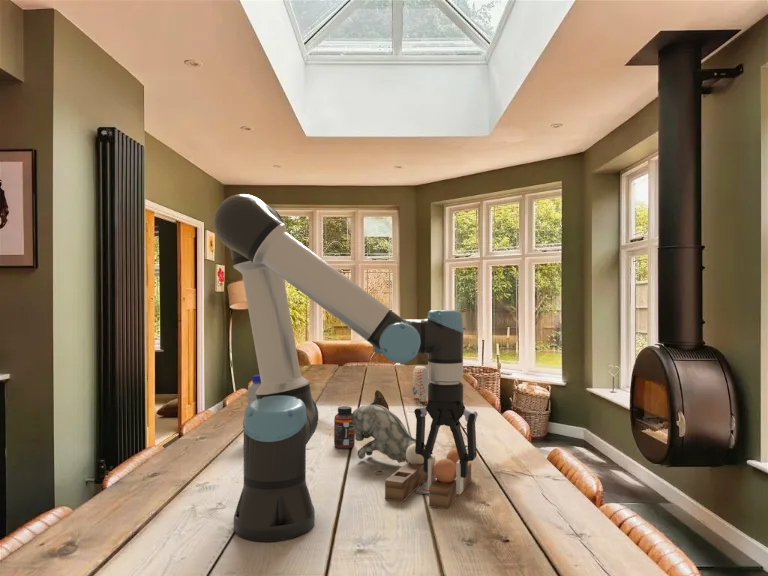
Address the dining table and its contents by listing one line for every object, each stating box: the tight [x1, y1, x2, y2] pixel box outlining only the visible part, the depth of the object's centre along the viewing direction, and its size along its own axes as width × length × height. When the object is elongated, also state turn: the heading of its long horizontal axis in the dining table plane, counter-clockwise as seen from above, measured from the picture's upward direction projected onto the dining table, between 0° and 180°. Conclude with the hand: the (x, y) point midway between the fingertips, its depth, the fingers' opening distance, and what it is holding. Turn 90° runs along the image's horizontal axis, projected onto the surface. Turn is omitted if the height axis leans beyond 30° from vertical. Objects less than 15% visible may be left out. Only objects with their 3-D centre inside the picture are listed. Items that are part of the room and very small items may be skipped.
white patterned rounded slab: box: [412, 365, 431, 403], centre depth 224 cm, size 21×6×15 cm, turn 12°
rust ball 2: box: [445, 447, 460, 465], centre depth 125 cm, size 5×5×5 cm
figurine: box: [351, 403, 426, 464], centre depth 140 cm, size 10×19×20 cm
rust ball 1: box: [434, 458, 456, 483], centre depth 117 cm, size 5×5×5 cm
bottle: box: [246, 374, 261, 406], centre depth 162 cm, size 7×7×20 cm
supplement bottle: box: [333, 405, 356, 450], centre depth 157 cm, size 6×6×11 cm
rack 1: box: [384, 462, 428, 503], centre depth 125 cm, size 19×4×4 cm, turn 156°
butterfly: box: [370, 390, 390, 410], centre depth 187 cm, size 12×10×10 cm
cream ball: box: [406, 444, 424, 465], centre depth 129 cm, size 5×5×5 cm
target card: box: [415, 480, 429, 496], centre depth 123 cm, size 7×4×1 cm, turn 156°
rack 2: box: [428, 462, 472, 510], centre depth 121 cm, size 19×4×4 cm, turn 156°
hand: (445, 489), depth 117 cm, fingers open, 6 cm apart
